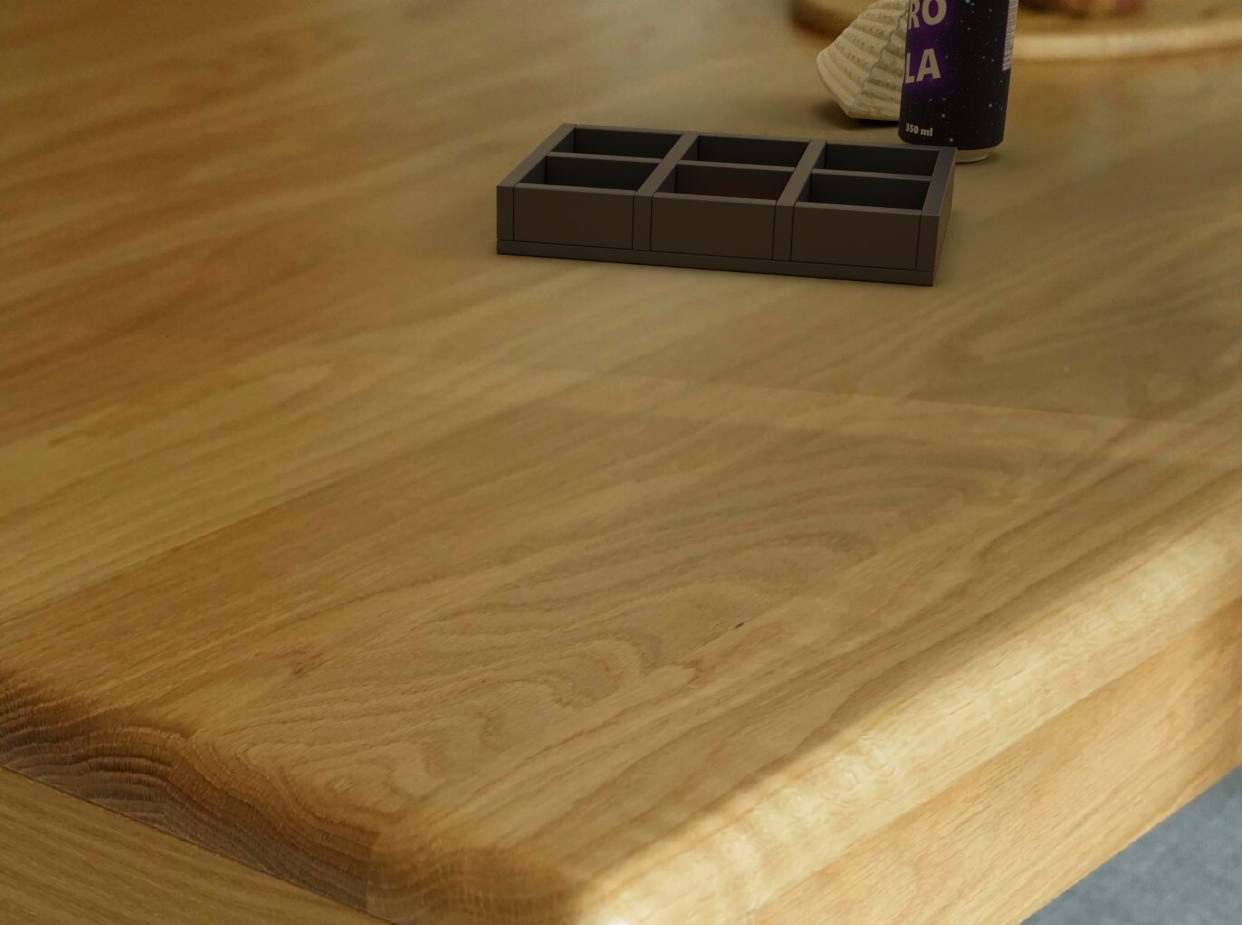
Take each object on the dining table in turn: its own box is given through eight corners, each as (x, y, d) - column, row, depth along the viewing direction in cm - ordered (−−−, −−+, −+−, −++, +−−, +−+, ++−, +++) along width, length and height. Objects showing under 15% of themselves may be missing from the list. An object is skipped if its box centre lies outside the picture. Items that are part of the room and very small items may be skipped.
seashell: (981, 63, 124) (986, 13, 116) (907, 184, 124) (906, 143, 116) (865, 0, 125) (862, -53, 117) (792, 120, 126) (783, 76, 118)
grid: (951, 210, 102) (957, 147, 100) (932, 285, 90) (939, 215, 89) (561, 183, 106) (562, 122, 104) (496, 253, 94) (496, 185, 93)
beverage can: (925, 137, 116) (945, -89, 111) (1018, 151, 113) (1044, -80, 108) (878, 155, 112) (896, -78, 107) (973, 171, 109) (998, -69, 104)
